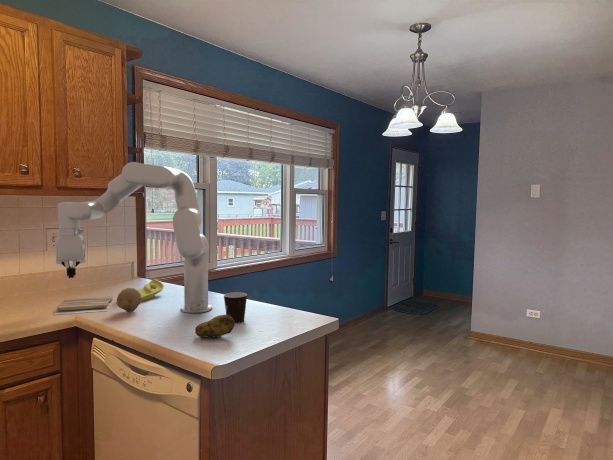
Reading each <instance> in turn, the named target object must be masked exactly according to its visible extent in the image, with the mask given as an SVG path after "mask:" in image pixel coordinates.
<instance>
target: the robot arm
mask: <svg viewBox="0 0 613 460" xmlns="http://www.w3.org/2000/svg"><path fill="white" fill-rule="evenodd" d="M142 187H151V188H156V189H157V188H159V189H165V190H167V189H170V190H173V192H174V201H175V205H176V209H177V210H176V211H175V213H173V216H172V227H173V231H174V232H173V233H174V237H175V241H176V246H177V250H178V252H179V254H180V255H181V256H182V257H183V258H184V260H183V275H184V276H183V278H184V280H183V283H184V284H183V285H184V287H183V289H184V292H183V293H184V301H183V302H184V304H183V305H182V306H180V311H181V312H183V313H187V314H197V313H198V314H199V313H205V312H209V311H211V310H212V308H213V306H212V304H210V303H209V280H208V279H209V250H210V246H209V240H208V239H207V237H206V236H205V235H204V234H202V233H201V232H200V227H201V224H202V221H203V220H202V219H203V217H202V214H201V210H200V205H199V204H200V203H199V200H198V198H197V193H196V192H197V191H196V187H195V184H194V181H193V180H192V178H191V177H190V176H189V175H188V174H187V173H186V172H184V171H182V170H179V169H177V168H172V167H168V166H163V165H155V164H149V163H143V162H142V163H141V162H136V161H131V162H128V163H126V164H124V166H123V167H122V169H121V173H120V174H119V175H117V176H116V177H114V178H113V179H112V180H111V181H109V182H108V183H107V189H106V191H105V192H104V193H103V194H101V195H100V196H98V197H97V198H96V199H94V200H93V201H92V200H91V201H88V200H87V201H79V202H75V201H62V202H59V203H58V204H57V216H58V217H57V219H58V236H57V237H56V242H55V244H56V245H55V264H56V265H62V266H63V267H65V269H66V276H67V277H68V279H74V278H75V276H76V274H77V272H76V271H77V270H76V269H77V267H78V266H79V264H83V263H86V247H85V242H84V241H85V240H84V237H83V235H81V234H83V233H84V234H85V229H82V228H81V221H92V220H98V219H100V218H101V219H102V218H103V217H104V216H106V215H107V214H109V213H110V212H111V211H114V209H115V208H117V207H118V206H119V205H120V204H121V203H122V202H123V200H125V199H126V198H128V197H129V196H130V195H132V194H134V193H135V192H136V191H138V190H139V189H141V188H142ZM71 261H72V264H71V263H70V262H71Z"/></svg>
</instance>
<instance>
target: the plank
mask: <svg viewBox="0 0 613 460" xmlns="http://www.w3.org/2000/svg"><path fill="white" fill-rule="evenodd" d="M108 305H109V301H102V302H87V303H71V304H61V303H60V305H59V306H57V311H63V310H77V309H92V308H106V307H107V306H108Z"/></svg>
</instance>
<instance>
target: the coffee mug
mask: <svg viewBox="0 0 613 460" xmlns="http://www.w3.org/2000/svg"><path fill="white" fill-rule="evenodd" d="M223 299H224V308H225V315H229V316H231V317H232V318H233V319H234V321H235V325H236V324H242V323H245V318H246V317H245V315H246V308H247V299H248V294H247V293H245V292H238V291H237V292H236V291H235V292H228V293H224V294H223Z"/></svg>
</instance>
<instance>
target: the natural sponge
mask: <svg viewBox="0 0 613 460" xmlns="http://www.w3.org/2000/svg"><path fill="white" fill-rule="evenodd" d="M122 290H123V291H122ZM122 290H121V291H120V292H119V293H118V295H117V297H116V304H117V307H119V308H120V309H121V310H124V311H125V312H127V313H133V312H134V311H136V310H137V308H139V305H140V303H141V302H140V301H141V294H140V293H139V291H137V290H138V289H136V288H133V287H127V288H124V289H122Z"/></svg>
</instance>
